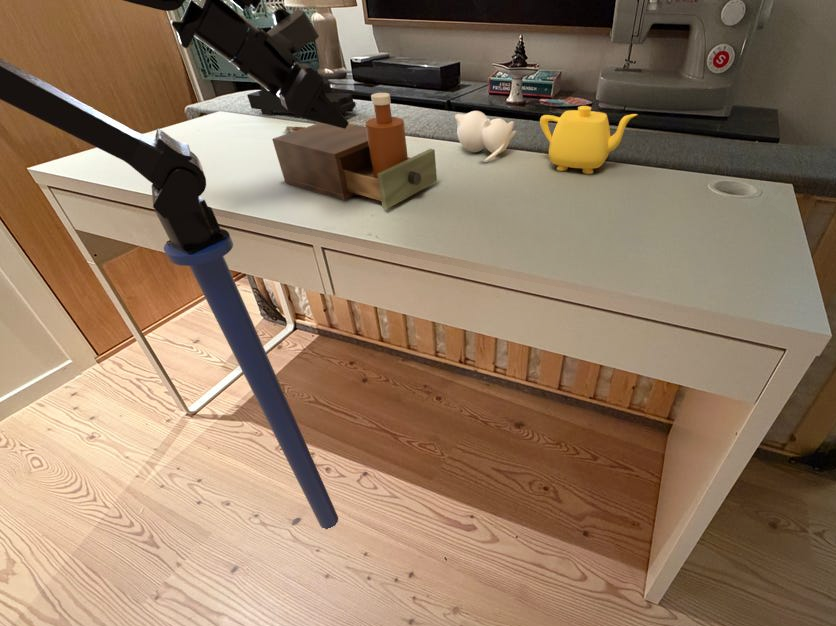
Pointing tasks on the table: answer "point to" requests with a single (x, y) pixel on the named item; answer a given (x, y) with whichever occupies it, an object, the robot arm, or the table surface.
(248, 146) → the table surface
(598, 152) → the teapot
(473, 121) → the cat figurine
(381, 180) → the drawer
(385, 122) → the bottle
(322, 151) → the cabinet
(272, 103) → the black angular piece
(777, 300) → the table surface
